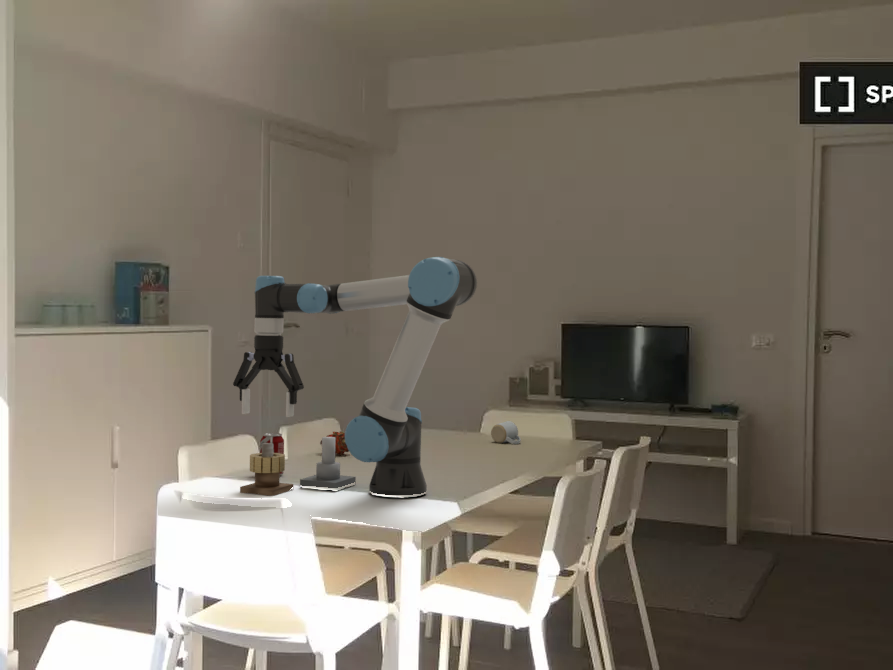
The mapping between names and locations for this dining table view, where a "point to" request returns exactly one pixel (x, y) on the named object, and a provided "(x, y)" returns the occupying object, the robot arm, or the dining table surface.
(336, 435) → the dragon fruit
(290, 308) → the robot arm
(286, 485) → the stand
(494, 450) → the dining table surface
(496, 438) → the ceramic mug
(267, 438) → the soda can
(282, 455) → the collar
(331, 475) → the hub
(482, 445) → the dining table surface
